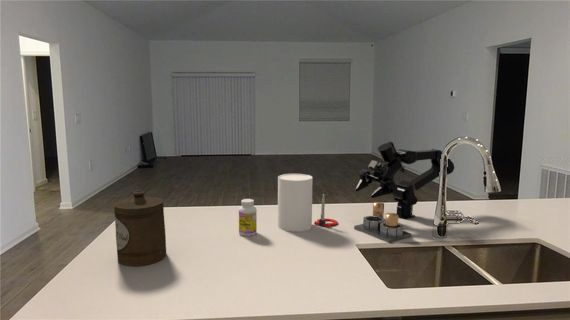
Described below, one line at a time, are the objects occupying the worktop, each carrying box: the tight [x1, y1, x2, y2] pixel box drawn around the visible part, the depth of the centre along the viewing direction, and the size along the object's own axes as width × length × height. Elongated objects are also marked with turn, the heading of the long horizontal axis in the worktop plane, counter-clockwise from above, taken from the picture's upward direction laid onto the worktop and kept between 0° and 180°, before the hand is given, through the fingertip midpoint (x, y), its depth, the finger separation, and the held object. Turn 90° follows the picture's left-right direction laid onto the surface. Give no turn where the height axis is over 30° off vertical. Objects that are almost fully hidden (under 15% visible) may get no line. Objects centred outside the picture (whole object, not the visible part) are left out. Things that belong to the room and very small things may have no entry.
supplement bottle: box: [238, 198, 258, 237], centre depth 150 cm, size 7×7×13 cm
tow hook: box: [313, 193, 338, 228], centre depth 163 cm, size 8×13×9 cm
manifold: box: [353, 212, 413, 244], centre depth 153 cm, size 18×12×8 cm, turn 33°
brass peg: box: [372, 201, 385, 218], centre depth 169 cm, size 4×4×7 cm
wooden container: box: [113, 189, 167, 267], centre depth 127 cm, size 15×15×22 cm
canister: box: [277, 173, 314, 233], centre depth 159 cm, size 14×14×20 cm
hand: (363, 193), depth 162 cm, fingers open, 9 cm apart
